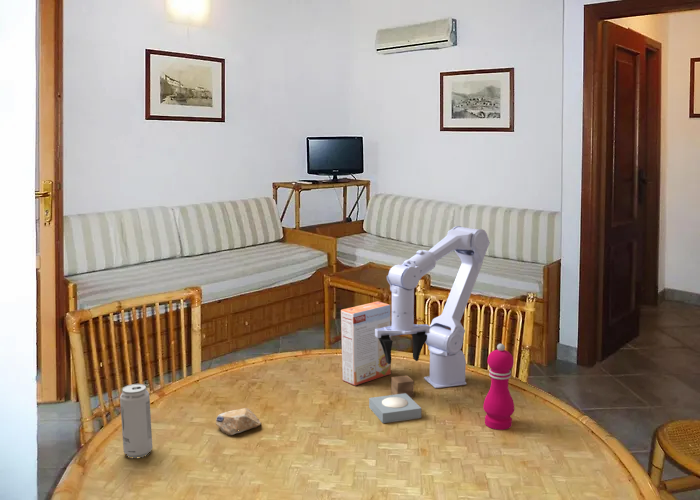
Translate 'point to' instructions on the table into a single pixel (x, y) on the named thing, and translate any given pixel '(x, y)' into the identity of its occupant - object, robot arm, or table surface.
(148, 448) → the energy drink can
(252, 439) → the table surface
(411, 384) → the walnut block
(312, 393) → the table surface
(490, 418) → the pepper mill
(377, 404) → the plinth
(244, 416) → the stone
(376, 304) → the cracker box
